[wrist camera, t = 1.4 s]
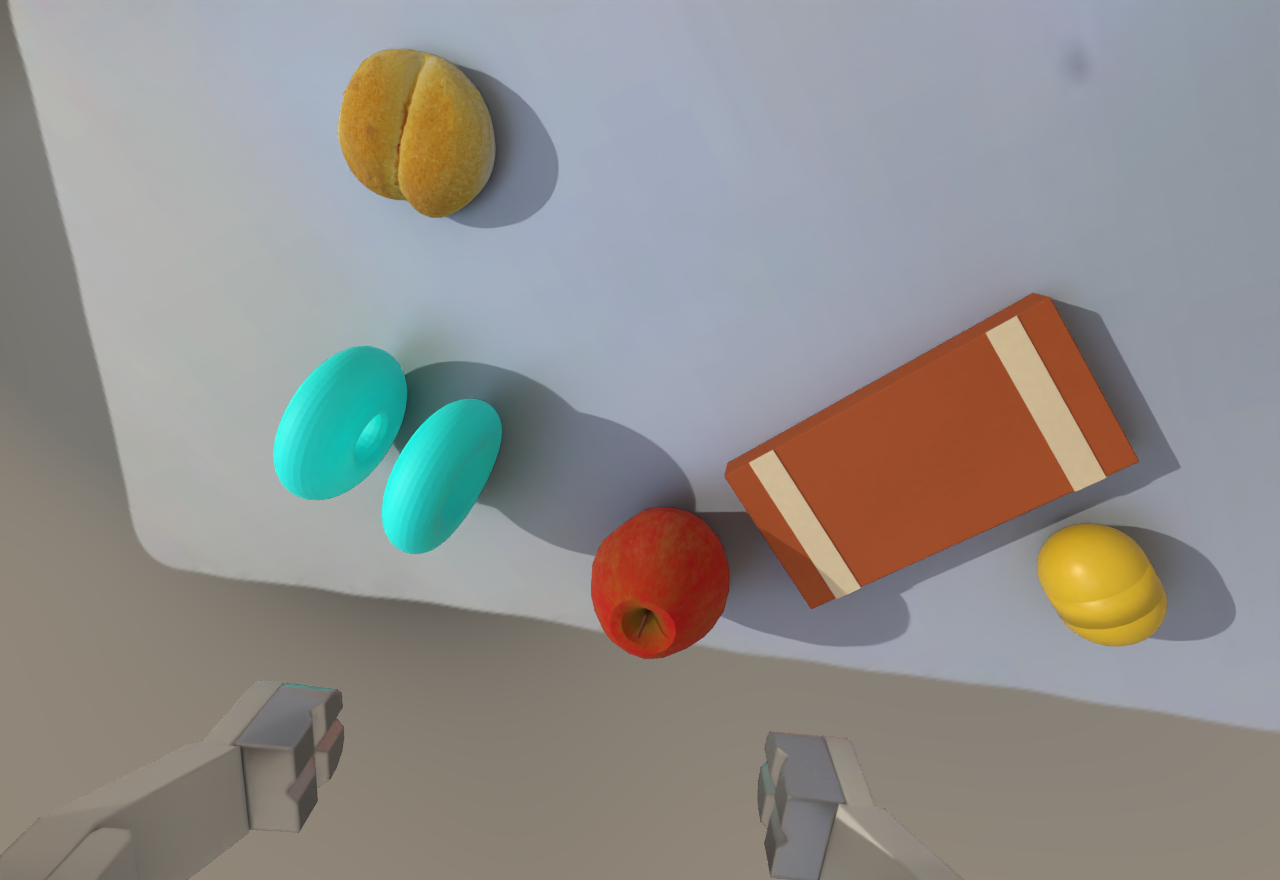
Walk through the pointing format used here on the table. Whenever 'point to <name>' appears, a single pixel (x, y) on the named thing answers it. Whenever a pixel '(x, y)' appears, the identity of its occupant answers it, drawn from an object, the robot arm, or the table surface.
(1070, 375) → the tea towel
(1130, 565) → the lemon
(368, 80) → the bread roll
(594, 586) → the apple
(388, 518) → the donuts
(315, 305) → the table surface
